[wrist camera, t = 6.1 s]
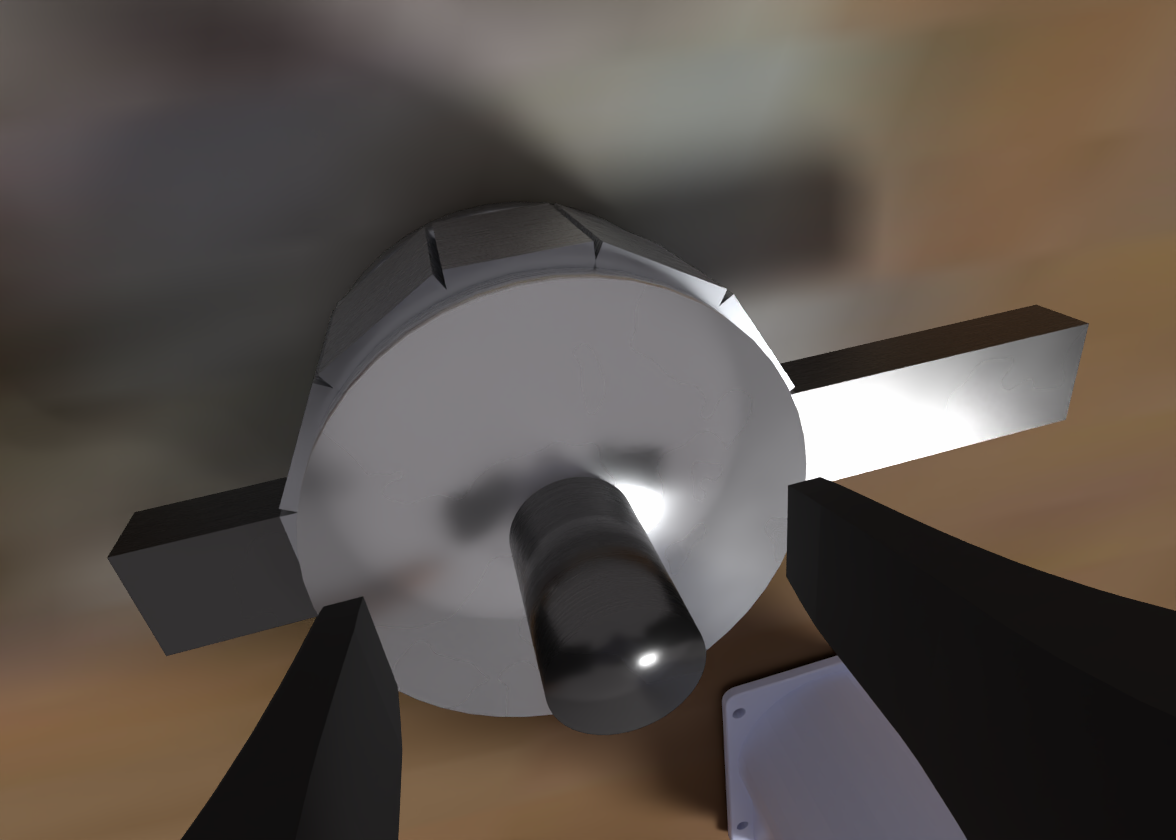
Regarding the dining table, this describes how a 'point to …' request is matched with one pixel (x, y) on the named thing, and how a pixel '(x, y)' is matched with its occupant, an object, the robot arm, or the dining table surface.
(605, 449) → the lid
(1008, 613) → the robot arm
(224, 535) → the pot
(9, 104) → the dining table surface
